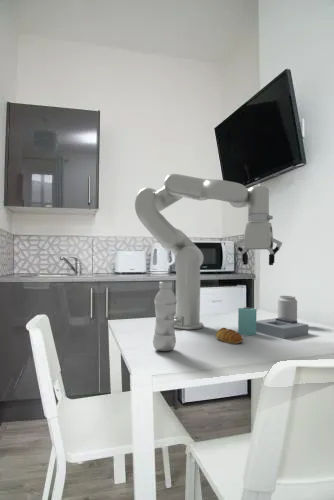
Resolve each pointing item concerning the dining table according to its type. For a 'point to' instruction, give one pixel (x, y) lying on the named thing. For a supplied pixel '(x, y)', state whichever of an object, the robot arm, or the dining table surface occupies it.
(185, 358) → the dining table surface
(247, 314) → the block
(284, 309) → the can
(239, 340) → the pastry
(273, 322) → the grey recessed tray
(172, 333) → the plastic bottle
